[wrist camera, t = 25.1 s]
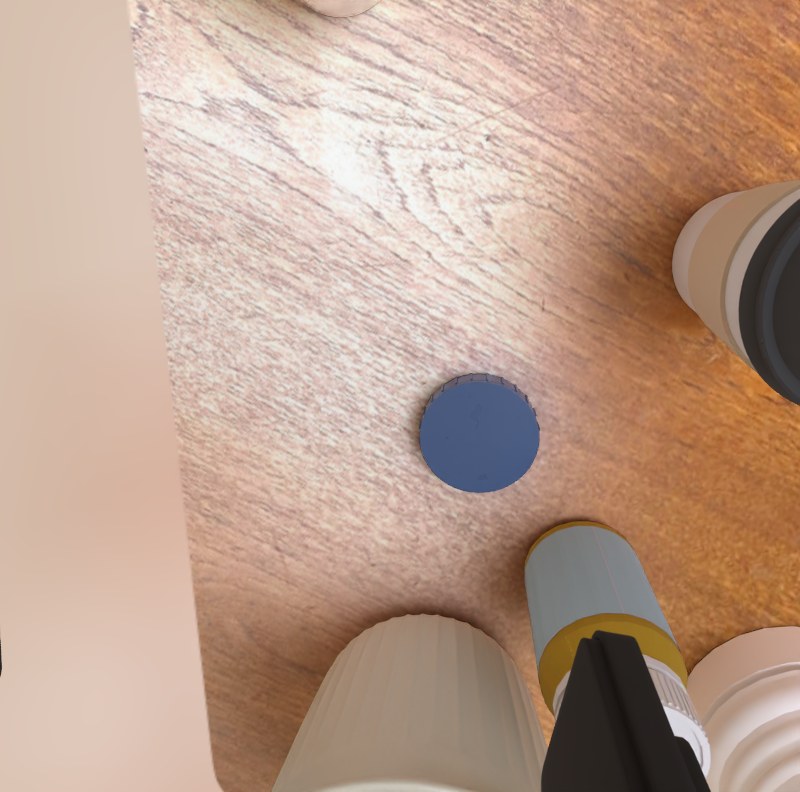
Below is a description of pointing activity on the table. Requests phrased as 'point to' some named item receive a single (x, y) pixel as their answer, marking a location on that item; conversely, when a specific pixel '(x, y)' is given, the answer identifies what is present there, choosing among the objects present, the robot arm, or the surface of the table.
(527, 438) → the lid
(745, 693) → the honey pot
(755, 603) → the table surface
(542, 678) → the bottle
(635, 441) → the table surface
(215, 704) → the table surface
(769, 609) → the table surface
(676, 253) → the coffee cup
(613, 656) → the robot arm
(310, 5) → the jar
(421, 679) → the canister
